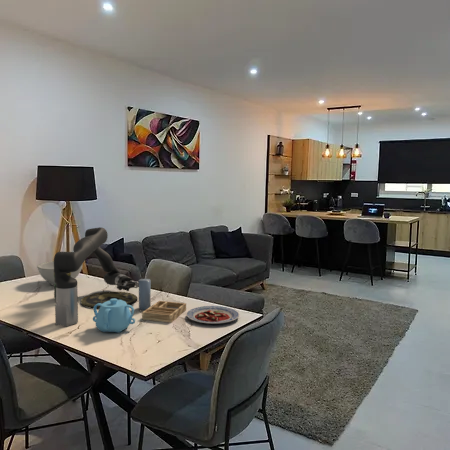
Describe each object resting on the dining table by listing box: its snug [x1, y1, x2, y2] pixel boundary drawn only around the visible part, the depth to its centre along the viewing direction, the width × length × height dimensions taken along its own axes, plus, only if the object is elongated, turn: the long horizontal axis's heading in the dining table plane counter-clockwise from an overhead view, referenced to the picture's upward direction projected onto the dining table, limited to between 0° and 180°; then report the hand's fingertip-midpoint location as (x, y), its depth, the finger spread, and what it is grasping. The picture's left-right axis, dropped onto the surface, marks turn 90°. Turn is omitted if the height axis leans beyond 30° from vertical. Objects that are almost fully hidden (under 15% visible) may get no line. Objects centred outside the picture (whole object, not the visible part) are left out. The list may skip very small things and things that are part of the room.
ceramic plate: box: [186, 305, 240, 325], centre depth 200 cm, size 26×26×3 cm
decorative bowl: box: [36, 260, 84, 286], centre depth 260 cm, size 27×27×12 cm
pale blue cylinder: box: [138, 278, 152, 311], centre depth 212 cm, size 6×6×15 cm
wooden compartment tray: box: [141, 300, 187, 324], centre depth 203 cm, size 20×15×4 cm
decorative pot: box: [92, 298, 136, 333], centre depth 182 cm, size 16×16×14 cm
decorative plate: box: [80, 291, 138, 310], centre depth 225 cm, size 30×2×30 cm
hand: (136, 288), depth 220 cm, fingers open, 8 cm apart
